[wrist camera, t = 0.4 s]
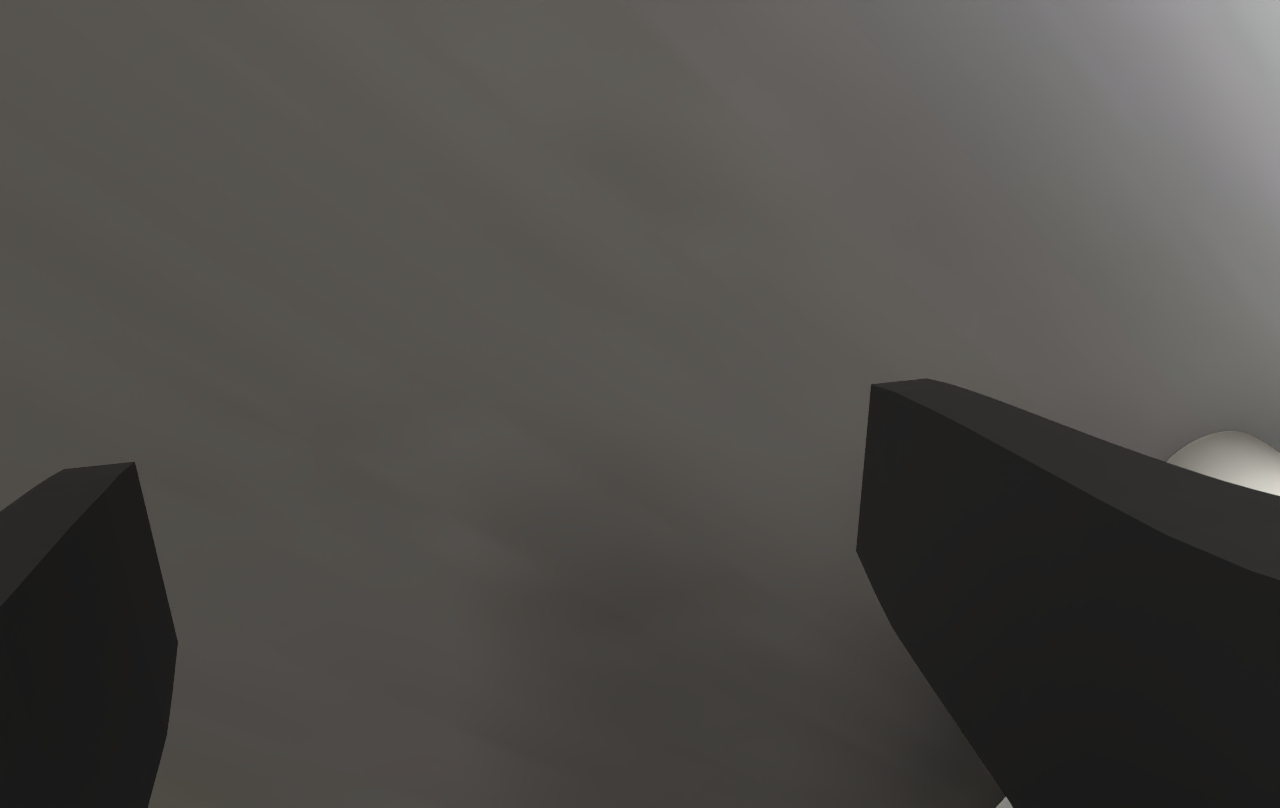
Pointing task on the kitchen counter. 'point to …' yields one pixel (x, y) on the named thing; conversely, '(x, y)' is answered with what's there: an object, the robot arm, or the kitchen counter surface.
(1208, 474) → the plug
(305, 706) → the kitchen counter surface
